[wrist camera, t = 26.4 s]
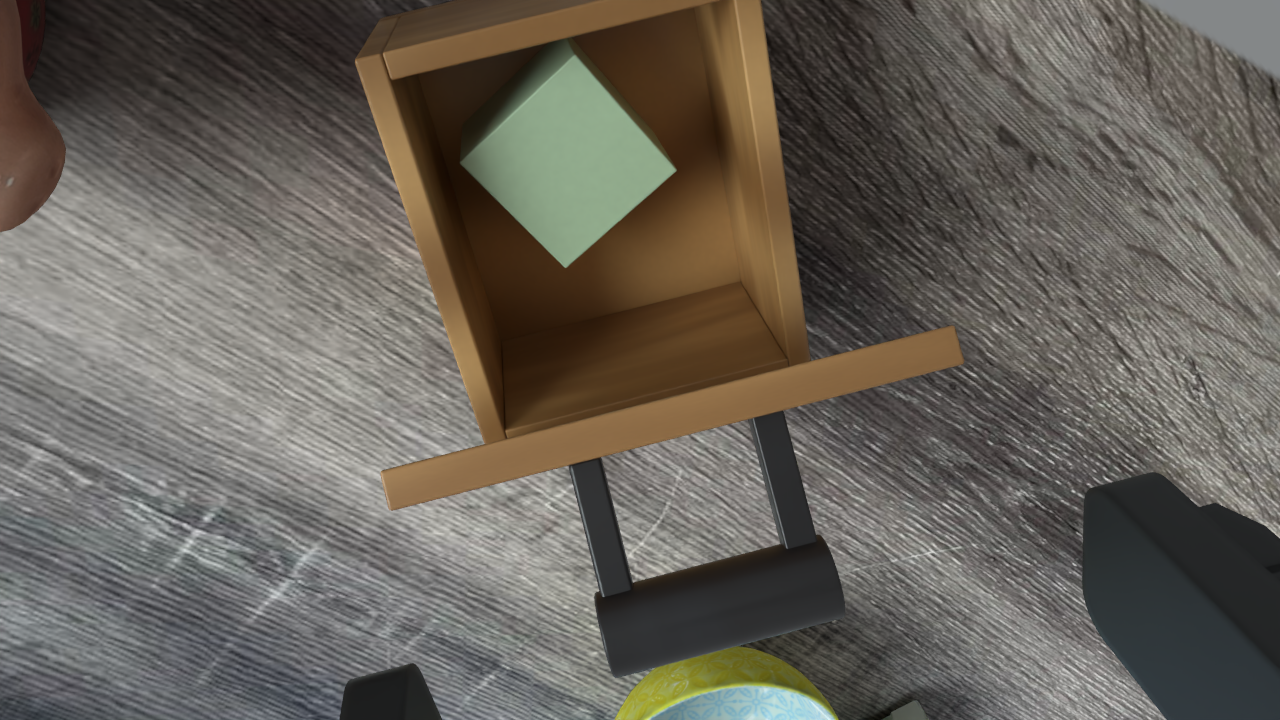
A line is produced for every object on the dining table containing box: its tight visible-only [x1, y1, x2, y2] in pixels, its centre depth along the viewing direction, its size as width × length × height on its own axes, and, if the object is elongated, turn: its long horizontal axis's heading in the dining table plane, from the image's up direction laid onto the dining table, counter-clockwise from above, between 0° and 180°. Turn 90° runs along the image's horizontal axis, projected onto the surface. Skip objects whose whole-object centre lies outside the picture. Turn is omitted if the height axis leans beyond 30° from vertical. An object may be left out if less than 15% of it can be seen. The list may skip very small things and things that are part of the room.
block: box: [460, 37, 677, 268], centre depth 34 cm, size 5×5×5 cm
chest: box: [355, 0, 811, 444], centre depth 34 cm, size 14×12×8 cm
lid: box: [381, 325, 964, 678], centre depth 26 cm, size 14×12×5 cm
